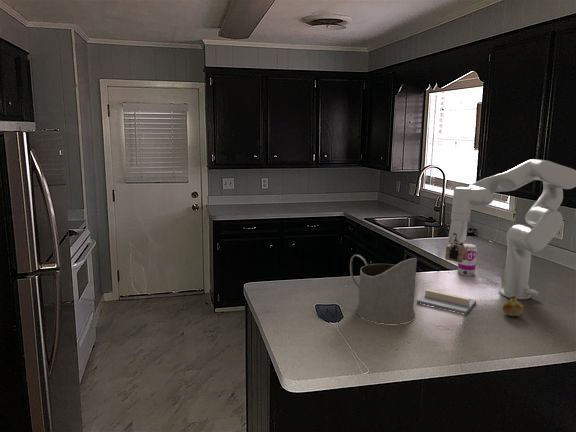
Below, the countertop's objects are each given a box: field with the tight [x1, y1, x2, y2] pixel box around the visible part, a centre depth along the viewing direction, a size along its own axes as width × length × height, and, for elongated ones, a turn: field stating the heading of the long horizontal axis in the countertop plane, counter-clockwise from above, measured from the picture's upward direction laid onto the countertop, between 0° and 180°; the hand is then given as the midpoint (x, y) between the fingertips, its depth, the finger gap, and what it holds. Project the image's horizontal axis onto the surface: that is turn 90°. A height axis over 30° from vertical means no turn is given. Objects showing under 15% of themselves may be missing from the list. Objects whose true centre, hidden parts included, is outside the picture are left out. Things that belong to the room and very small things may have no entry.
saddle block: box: [444, 244, 468, 263], centre depth 204 cm, size 7×6×6 cm
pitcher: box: [349, 254, 418, 324], centre depth 189 cm, size 23×32×25 cm
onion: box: [502, 296, 525, 317], centre depth 187 cm, size 8×8×8 cm
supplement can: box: [457, 242, 478, 277], centre depth 240 cm, size 8×8×15 cm
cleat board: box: [416, 289, 477, 315], centre depth 199 cm, size 20×16×4 cm
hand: (456, 256), depth 204 cm, fingers closed on saddle block, 6 cm apart
